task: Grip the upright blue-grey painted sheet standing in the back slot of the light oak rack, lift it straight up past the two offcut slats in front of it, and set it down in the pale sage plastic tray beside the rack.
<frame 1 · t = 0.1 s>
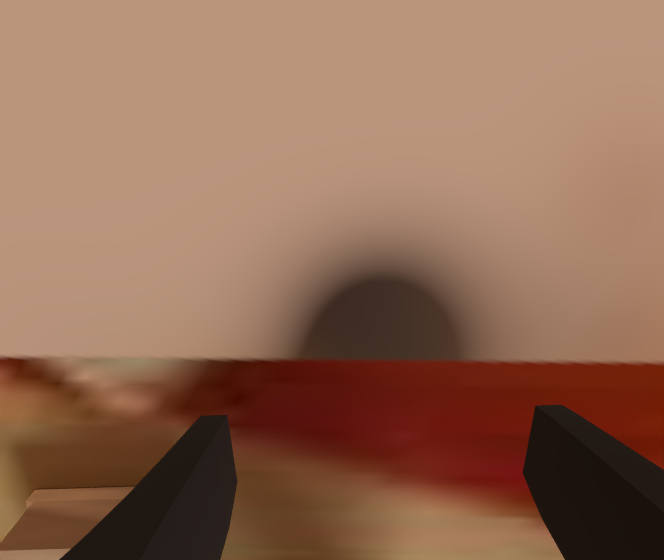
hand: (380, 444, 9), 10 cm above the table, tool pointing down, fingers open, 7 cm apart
rack: (139, 551, 25), on the table
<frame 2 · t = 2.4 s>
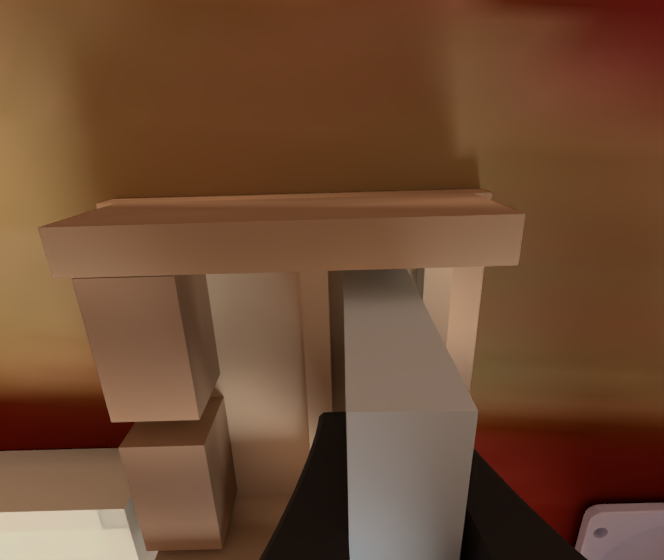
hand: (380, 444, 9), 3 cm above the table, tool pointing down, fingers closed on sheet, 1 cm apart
rack: (306, 368, 12), on the table
offcut a: (196, 446, 13), point 1 cm above the table, touching rack
offcut b: (172, 317, 11), point 1 cm above the table, touching rack
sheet: (371, 381, 12), point 1 cm above the table, touching gripper, rack
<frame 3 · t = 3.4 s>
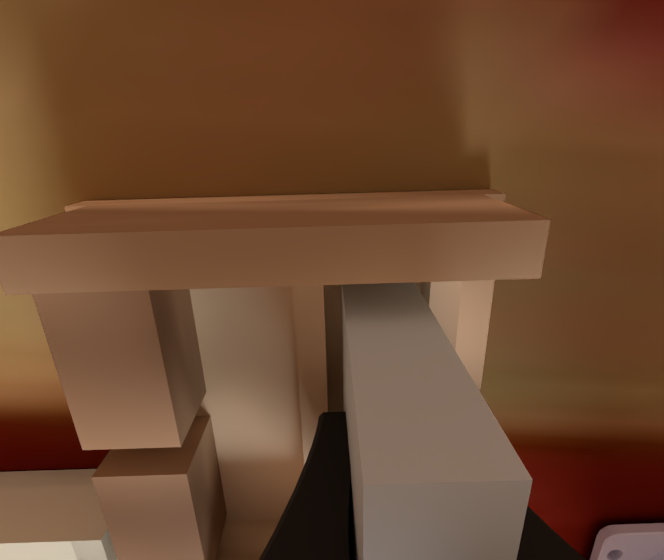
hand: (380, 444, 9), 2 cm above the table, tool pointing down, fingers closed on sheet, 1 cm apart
rack: (300, 383, 11), on the table
offcut a: (182, 468, 12), point 1 cm above the table, touching rack
offcut b: (152, 330, 10), point 1 cm above the table, touching rack
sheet: (372, 402, 11), point 1 cm above the table, touching gripper
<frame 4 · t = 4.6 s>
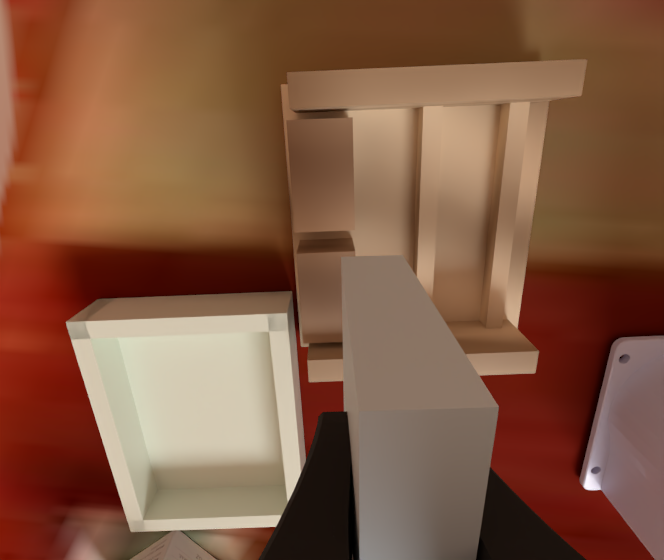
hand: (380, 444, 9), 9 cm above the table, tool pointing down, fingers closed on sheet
rack: (408, 222, 17), on the table
offcut a: (328, 281, 17), point 1 cm above the table, touching rack
offcut b: (322, 172, 15), point 1 cm above the table, touching rack
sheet: (370, 378, 11), point 7 cm above the table, touching gripper
tray: (213, 402, 20), on the table
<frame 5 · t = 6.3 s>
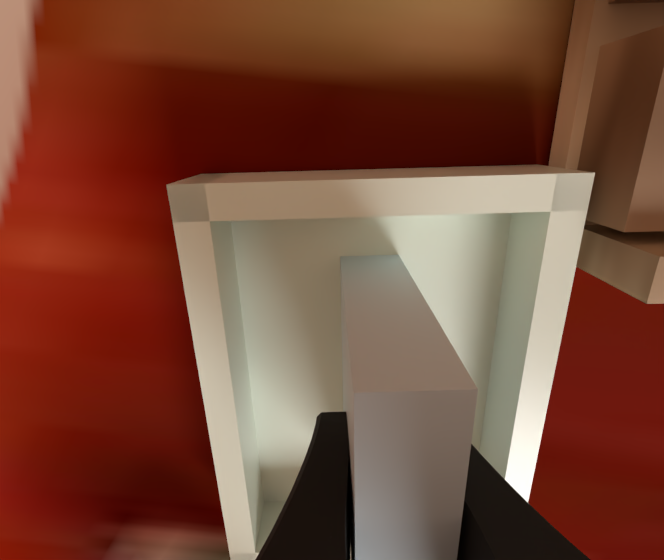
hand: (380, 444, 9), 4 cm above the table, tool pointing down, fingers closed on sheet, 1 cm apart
offcut a: (628, 134, 9), point 1 cm above the table, touching rack
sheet: (368, 372, 12), point 1 cm above the table, touching gripper, tray
tray: (367, 362, 13), on the table
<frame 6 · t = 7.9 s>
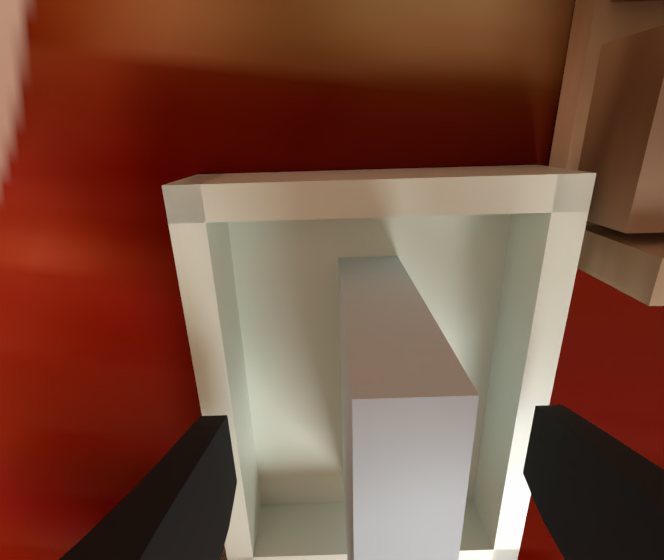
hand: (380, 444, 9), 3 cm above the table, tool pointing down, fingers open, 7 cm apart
offcut a: (630, 134, 9), point 1 cm above the table, touching rack
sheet: (367, 375, 12), point 1 cm above the table, touching tray
tray: (366, 364, 12), on the table
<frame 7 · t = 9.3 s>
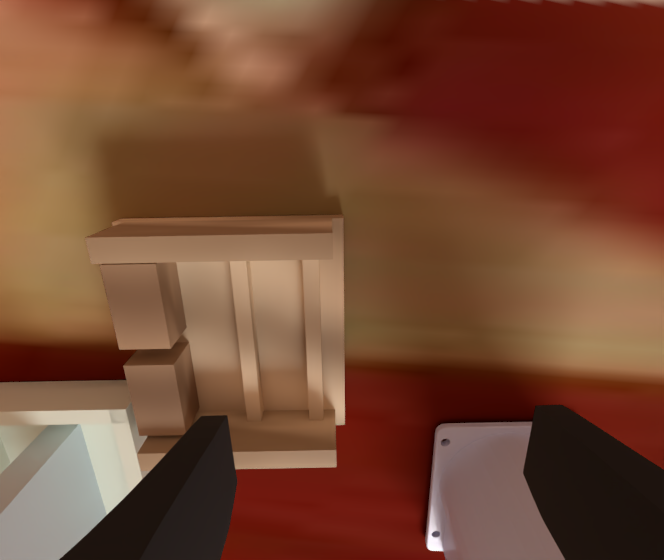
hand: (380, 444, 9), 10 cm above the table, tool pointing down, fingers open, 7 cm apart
rack: (243, 326, 19), on the table
offcut a: (172, 376, 19), point 1 cm above the table, touching rack
offcut b: (156, 290, 18), point 1 cm above the table, touching rack
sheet: (81, 477, 22), point 1 cm above the table, touching tray
tray: (88, 469, 22), on the table
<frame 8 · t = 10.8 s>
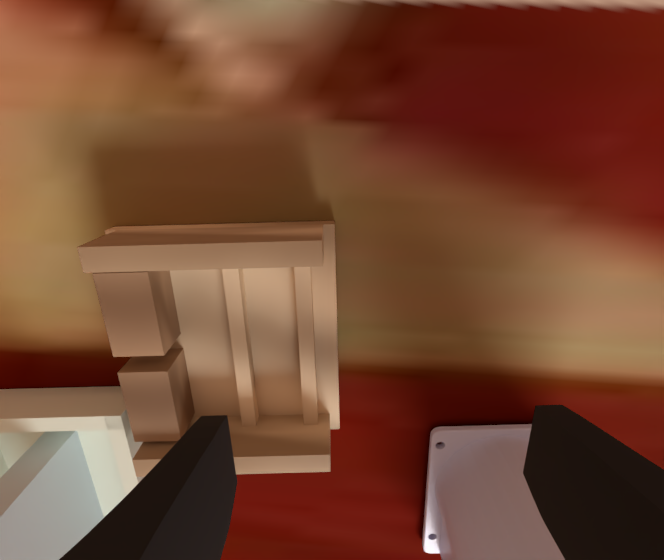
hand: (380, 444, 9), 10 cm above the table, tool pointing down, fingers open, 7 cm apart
rack: (237, 331, 20), on the table
offcut a: (167, 382, 20), point 1 cm above the table, touching rack
offcut b: (150, 297, 18), point 1 cm above the table, touching rack
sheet: (79, 483, 22), point 1 cm above the table, touching tray
tray: (86, 474, 23), on the table
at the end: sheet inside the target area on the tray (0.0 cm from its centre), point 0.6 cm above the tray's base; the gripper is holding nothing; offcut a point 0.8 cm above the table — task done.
